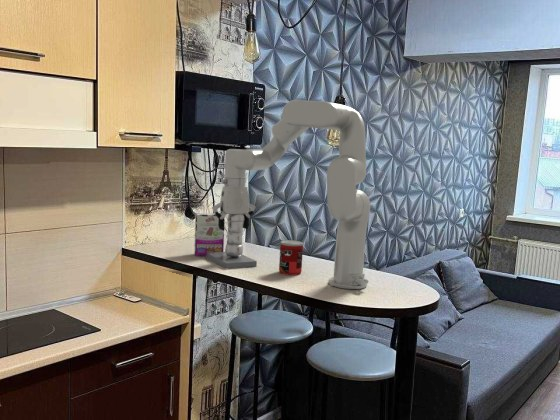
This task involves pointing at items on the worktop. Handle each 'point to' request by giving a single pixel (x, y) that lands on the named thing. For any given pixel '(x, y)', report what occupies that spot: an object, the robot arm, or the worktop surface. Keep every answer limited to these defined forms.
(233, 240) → the plastic bottle
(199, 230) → the candy bar box
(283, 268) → the canned food
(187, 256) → the worktop surface
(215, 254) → the slate board
